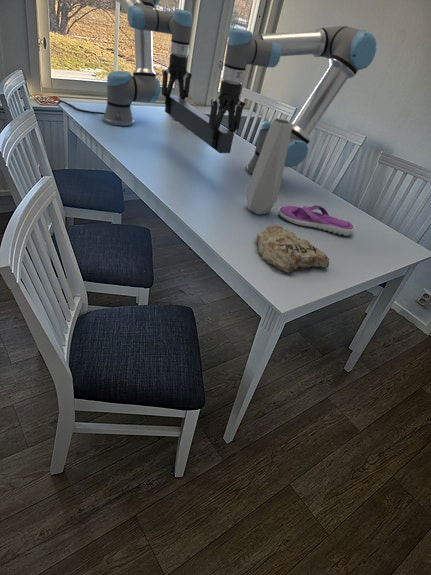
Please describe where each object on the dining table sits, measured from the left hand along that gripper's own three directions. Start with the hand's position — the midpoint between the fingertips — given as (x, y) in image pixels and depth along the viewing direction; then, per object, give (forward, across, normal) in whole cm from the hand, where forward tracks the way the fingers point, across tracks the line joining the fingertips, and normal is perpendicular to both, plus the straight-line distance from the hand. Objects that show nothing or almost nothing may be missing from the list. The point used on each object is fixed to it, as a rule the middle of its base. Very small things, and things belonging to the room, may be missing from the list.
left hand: (173, 113), depth 173 cm
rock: (+16, +30, +44) cm, 56 cm away
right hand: (0, 0, -43) cm, 43 cm away
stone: (+16, -2, -93) cm, 94 cm away
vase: (+16, +7, -66) cm, 68 cm away
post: (+1, 0, -22) cm, 22 cm away
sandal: (+16, +24, -80) cm, 85 cm away
